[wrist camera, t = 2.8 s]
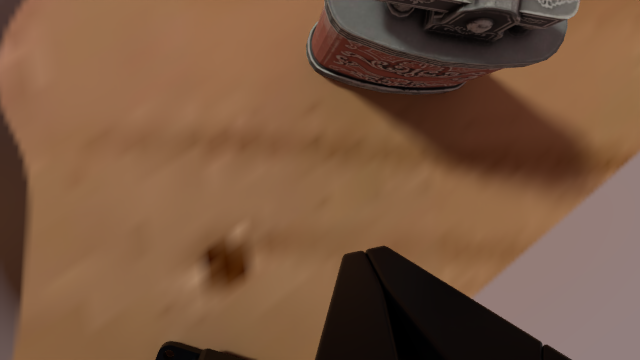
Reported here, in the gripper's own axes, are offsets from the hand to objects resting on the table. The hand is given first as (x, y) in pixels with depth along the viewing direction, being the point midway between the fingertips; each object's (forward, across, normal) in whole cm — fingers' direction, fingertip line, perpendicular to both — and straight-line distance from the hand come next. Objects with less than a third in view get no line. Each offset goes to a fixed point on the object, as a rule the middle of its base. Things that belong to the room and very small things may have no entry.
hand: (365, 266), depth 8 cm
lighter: (+15, +5, -1) cm, 15 cm away
